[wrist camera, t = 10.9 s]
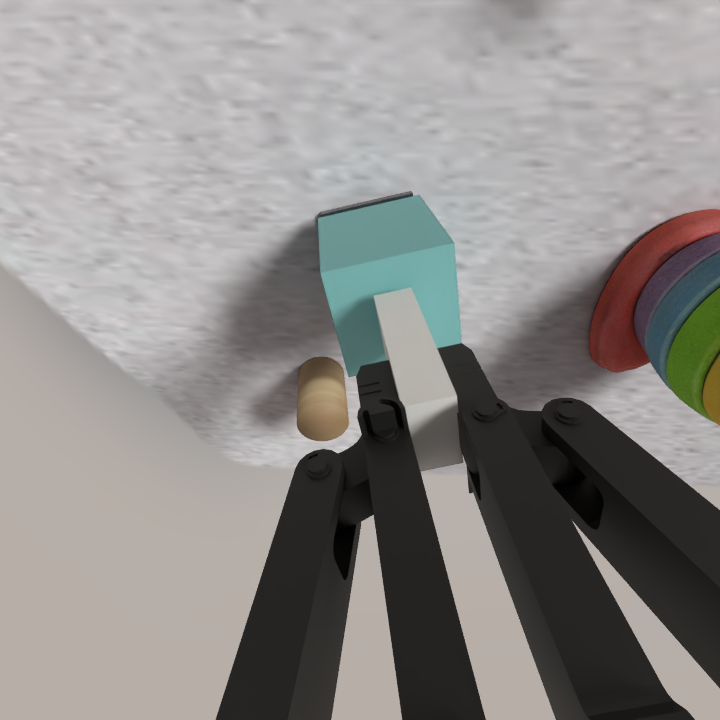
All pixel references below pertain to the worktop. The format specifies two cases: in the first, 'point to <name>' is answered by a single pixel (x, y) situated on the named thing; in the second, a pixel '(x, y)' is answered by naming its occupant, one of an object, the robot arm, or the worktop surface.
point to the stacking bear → (667, 310)
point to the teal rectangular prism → (387, 273)
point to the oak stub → (322, 400)
